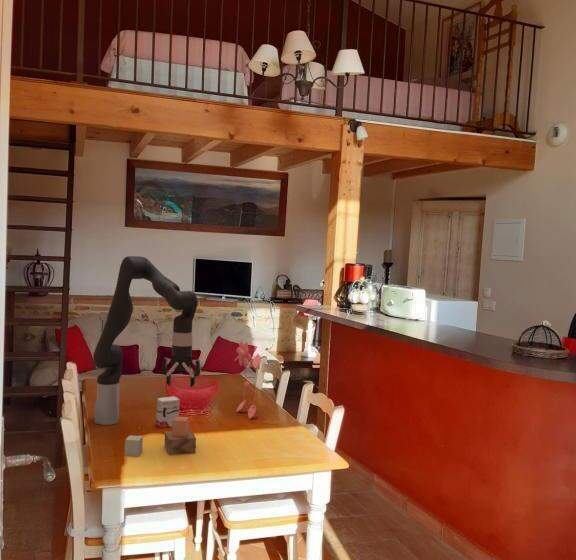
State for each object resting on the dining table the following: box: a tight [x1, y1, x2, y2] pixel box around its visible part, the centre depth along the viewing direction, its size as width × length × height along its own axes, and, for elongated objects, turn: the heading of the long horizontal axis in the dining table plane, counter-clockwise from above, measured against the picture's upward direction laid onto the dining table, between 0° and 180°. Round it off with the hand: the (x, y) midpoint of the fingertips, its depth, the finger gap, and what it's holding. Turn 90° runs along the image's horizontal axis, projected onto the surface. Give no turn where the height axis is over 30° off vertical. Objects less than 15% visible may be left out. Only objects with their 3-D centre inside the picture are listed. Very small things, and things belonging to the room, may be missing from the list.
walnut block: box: [163, 429, 197, 456], centre depth 234 cm, size 10×10×6 cm
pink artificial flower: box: [226, 340, 262, 423], centre depth 281 cm, size 15×26×35 cm, turn 30°
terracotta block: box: [171, 416, 190, 437], centre depth 234 cm, size 5×5×6 cm
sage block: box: [124, 435, 144, 457], centre depth 227 cm, size 5×5×6 cm
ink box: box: [155, 395, 180, 429], centre depth 263 cm, size 8×5×12 cm, turn 123°
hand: (180, 386), depth 234 cm, fingers open, 8 cm apart
